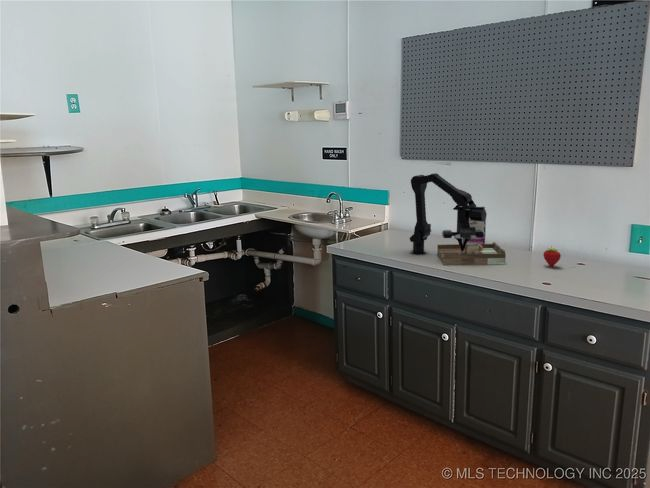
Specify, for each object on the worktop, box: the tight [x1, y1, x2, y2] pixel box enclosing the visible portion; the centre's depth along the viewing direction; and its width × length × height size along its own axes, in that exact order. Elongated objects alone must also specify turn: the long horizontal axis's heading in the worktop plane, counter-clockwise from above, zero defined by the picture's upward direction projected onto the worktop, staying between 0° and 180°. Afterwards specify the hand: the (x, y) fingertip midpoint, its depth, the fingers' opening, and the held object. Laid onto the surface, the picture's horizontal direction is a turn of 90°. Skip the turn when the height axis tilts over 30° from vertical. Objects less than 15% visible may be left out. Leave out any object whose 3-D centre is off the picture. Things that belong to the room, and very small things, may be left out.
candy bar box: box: [466, 218, 487, 244], centre depth 261 cm, size 11×5×16 cm, turn 68°
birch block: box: [465, 244, 479, 254], centre depth 243 cm, size 6×6×4 cm
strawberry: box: [543, 245, 562, 268], centre depth 226 cm, size 6×8×10 cm
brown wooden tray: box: [437, 241, 507, 266], centre depth 244 cm, size 20×28×6 cm
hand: (462, 251), depth 244 cm, fingers closed
